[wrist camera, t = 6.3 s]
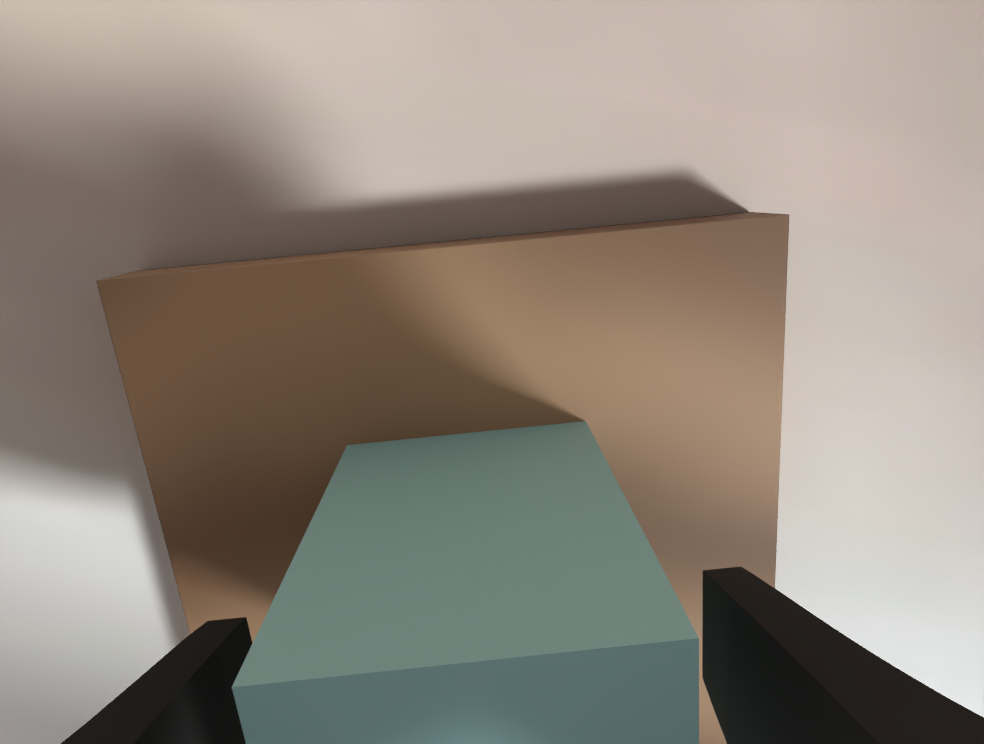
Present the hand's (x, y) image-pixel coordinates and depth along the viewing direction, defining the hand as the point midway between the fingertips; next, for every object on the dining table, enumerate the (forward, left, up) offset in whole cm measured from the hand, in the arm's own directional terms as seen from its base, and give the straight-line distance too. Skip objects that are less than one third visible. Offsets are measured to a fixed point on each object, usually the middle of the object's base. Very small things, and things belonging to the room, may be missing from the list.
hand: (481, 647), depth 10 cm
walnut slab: (0, 0, -4) cm, 4 cm away
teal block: (0, 0, -3) cm, 3 cm away
